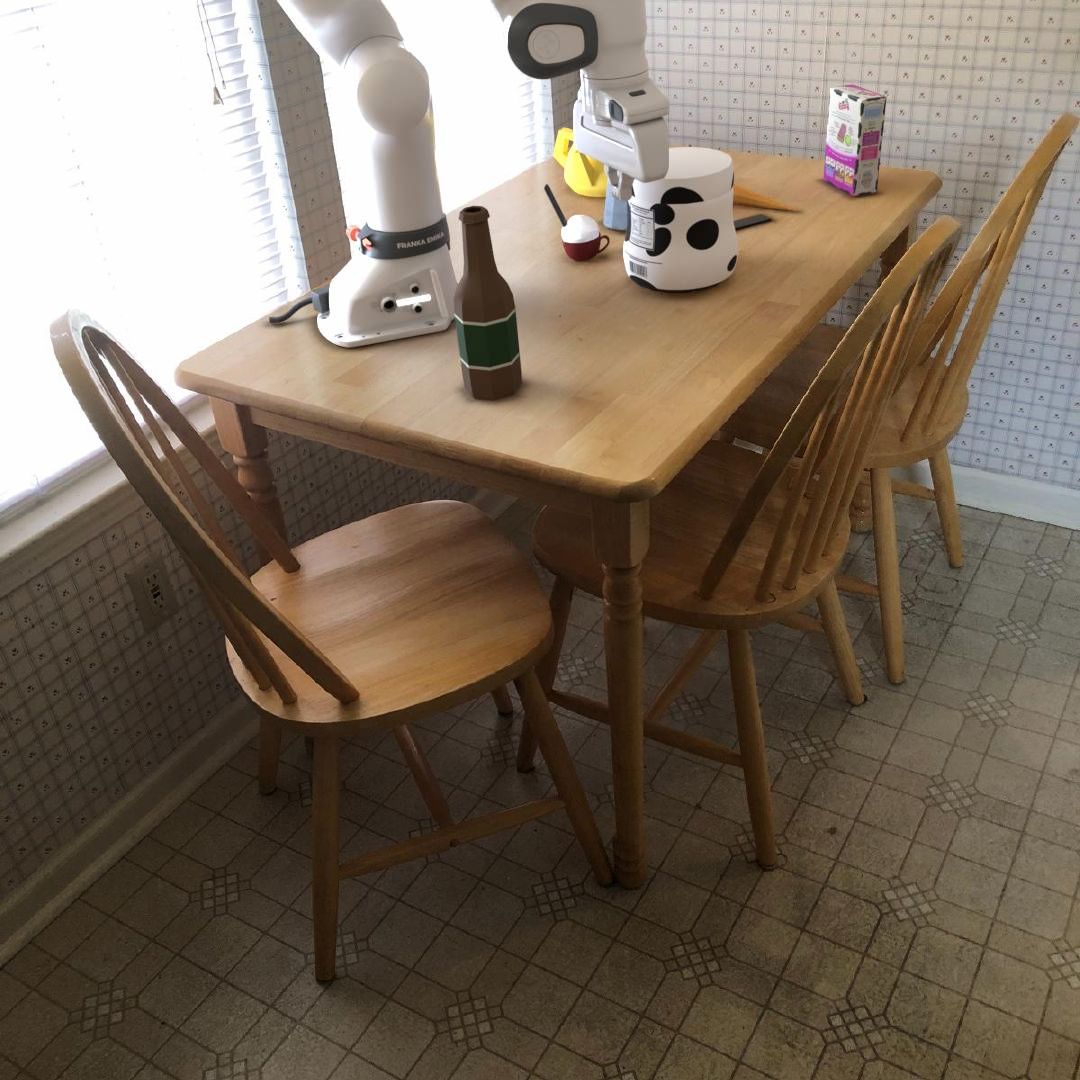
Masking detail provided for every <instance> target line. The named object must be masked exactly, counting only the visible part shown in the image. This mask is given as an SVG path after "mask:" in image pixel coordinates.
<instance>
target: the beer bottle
mask: <svg viewBox="0 0 1080 1080" xmlns="http://www.w3.org/2000/svg"><path fill="white" fill-rule="evenodd" d="M490 217H491V215H490V212H489V210H488V208H486V207H485V206H482V205H471V206H466V207H464V208H462V209H461V210H460V211H459V213H458V221H460V222H461V235H462V251H463V252H462V253H463V270H462V271H463V273H462V276H461V278H460V280H459V281H458V286H457V287H456V292H455V296H454V315H455V318H454V322H455V330H456V337H457V344H458V351H459V359H460V367H461V368H460V369H461V376H462V381H463V386H464V389H465V390H466V391H467V392H468V394H469V395H470V396H471V397H472V398H473V399H476V400H484V401H485V400H486V401H492V402H493V401H497V400H502V399H504V398H509V397H512V396H514V395H515V394H516V393H517V391H518V389H519V388H520V387H521V386H522V384H523V378H522V377H523V371H522V362H521V361H522V359H521V350H520V342H519V341H520V340H519V330H518V319H517V309H516V303H515V298H514V293H513V291H512V288H511V287H510V285H509V283H508V282H507V281H506V279H505V278H504V277H503V276H502V274H501V273H500V272H499V270H498V266H497V263H496V260H495V253H494V249H493V243H492V236H491V231H490V224H489V218H490Z"/></svg>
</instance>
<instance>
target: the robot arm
mask: <svg viewBox="0 0 1080 1080" xmlns="http://www.w3.org/2000/svg"><path fill="white" fill-rule="evenodd" d="M276 1H277V3H278V4H279V6H281V8H282V9H283V11H284V12H285V13H286V15H287V16H288V18H289V19H290V20H291V22H292V23H293V24H294V26H295V28H296V29H297V30H298V31H299V32H300V33H301V34H302V36H303V38H305V40H306V41H307V42H308V43H309V44H310V46H311V47H312V48H313V49H314V51H315V52H316V53H317V54H318V55H319V57H320V59H322V61H323V62H324V63H325V65H326V66H327V67H328V68H329V70H330V71H331V73H332V74H333V75H334V76H335V78H336V79H337V80H338V82H339V84H340V85H341V87H342V88H343V90H344V92H345V95H346V97H347V103H348V109H349V113H350V114H349V115H350V122H351V127H352V134H353V140H354V146H355V147H354V148H355V153H356V160H357V161H356V162H357V169H358V175H359V180H360V186H361V192H362V199H363V204H364V209H365V215H366V222H365V223H364V226H363V227H362V228H359V226H357V225H356V224H350V225H349V226H347V228H346V229H345V231H346V232H345V234H346V236H347V237H348V239H350V240H351V241H352V242H357V248H358V252H357V253H356V254H355V255H354V256H353V257H352V258H351V259H350V260H349V262H348V263H347V264H346V265H345V266H344V267H343V268H342V269H341V270H340V271H339V272H338V273H337V275H335V276H334V277H333V278H332V280H331V282H330V283H329V284H327V285H324V286H321V287H319V288H316V289H313V290H310V296H309V297H306V298H304V299H301V300H300V301H298V302H297V303H295V304H294V305H292V306H291V307H290V308H289V309H288V310H287V311H286V312H285V313H283V314H281V315H278V316H269V317H268V320H269V321H268V322H269V324H281V323H283V322H285V321H287V320H289V319H290V318H292V316H293V315H295V314H296V313H297V312H298V311H299V310H300V309H302V308H305V307H306V306H308V305H312V307H313V310H314V311H316V312H318V315H317V317H316V318H317V319H316V321H317V328H318V330H319V332H320V333H321V334H322V336H323V337H324V338H325V339H326V340H327V341H329V342H331V343H332V344H334V345H337V346H340V347H343V348H347V349H348V348H349V349H350V348H357V347H361V346H367V345H373V344H379V343H384V342H389V341H393V340H400V339H405V338H411V337H417V336H421V335H422V336H423V335H427V334H433V333H438V332H443V331H445V330H447V329H448V328H449V326H451V322H452V321H453V320H455V315H454V296H455V292H456V287H457V286H458V284H459V282H458V280H457V278H456V274H455V269H454V267H453V263H452V259H451V254H450V253H451V252H450V251H451V234H450V228H449V223H448V219H447V214H446V213H445V212H444V210H443V205H442V204H443V203H442V196H441V188H440V180H439V173H438V164H437V151H436V150H437V149H436V134H435V133H436V131H435V119H434V108H433V97H432V95H433V94H432V87H431V79H430V76H429V73H428V71H427V69H426V67H425V65H424V64H423V61H422V60H421V59H420V57H419V55H418V54H417V51H415V49H414V48H413V45H412V44H411V43H410V42H409V40H408V38H407V37H406V34H404V32H403V31H402V29H401V28H400V26H399V25H398V23H397V21H396V20H395V18H394V17H393V16H392V14H391V12H390V11H389V10H388V8H387V7H386V5H385V4H384V2H383V1H382V0H276ZM488 1H489V2H490V3H491V5H492V6H493V8H494V10H495V12H496V14H497V17H498V19H499V24H500V27H501V30H502V34H503V37H504V40H505V43H506V48H507V52H508V55H509V58H510V61H512V63H513V65H514V66H515V67H516V69H517V70H518V71H519V72H521V73H522V74H523V75H525V76H527V77H529V78H532V79H536V80H550V79H555V78H559V77H562V76H565V75H569V74H572V73H575V72H577V71H580V85H581V86H580V87H579V90H578V91H577V100H576V101H575V103H574V106H573V130H574V141H573V143H574V142H575V146H576V148H577V151H578V152H580V153H583V154H585V155H587V156H589V157H591V158H593V159H595V160H597V161H599V162H601V163H603V164H604V171H605V173H606V176H607V179H608V182H609V184H610V194H611V196H613V197H615V198H617V199H619V200H621V201H627V200H630V199H631V197H632V189H631V187H632V185H633V182H634V179H637V180H639V181H641V182H643V183H648V182H652V181H656V180H660V179H663V178H664V177H665V176H666V174H667V172H668V168H669V148H670V135H669V134H670V133H669V128H668V127H669V126H668V123H667V121H666V119H665V118H664V117H667V116H668V115H669V114H670V101H669V99H668V97H667V96H666V95H665V94H664V93H663V92H662V91H661V90H660V89H659V88H658V87H657V85H656V84H655V83H654V81H653V79H652V78H651V77H650V75H649V63H648V59H647V56H646V49H645V46H646V45H645V44H646V38H647V33H648V27H647V25H648V24H647V22H648V21H647V8H646V7H647V6H646V0H488Z"/></svg>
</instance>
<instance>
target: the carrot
mask: <svg viewBox="0 0 1080 1080" xmlns="http://www.w3.org/2000/svg"><path fill="white" fill-rule="evenodd" d="M733 189H734V195H733V205H738V206H739V205H740V206H746V207H754V208H761V209H762V208H763V209H771V210H772V209H773V210H784V211H796V208H793V207H791V206H789V205H786V204H785V203H782V202H780V201H777V200H776V199H773V198H771V197H769V196H767V195H764V194H761V193H759V192H756V191H753V190H752V189H749V188H746V187H743V186H741V185H738V184H736V183H734V184H733Z"/></svg>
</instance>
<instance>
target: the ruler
mask: <svg viewBox="0 0 1080 1080" xmlns="http://www.w3.org/2000/svg"><path fill="white" fill-rule="evenodd" d="M733 222H734V227H735V231H739V230H742V229H746V228H750V227H753V226H757V225H760V224H761V225H762V224H765V223H768V222H772V217H769V216H767V215H764V214H763V213H760V214H756V215H755V214H754V215H752V216H748V217H744V218H741V219H736V220H733Z"/></svg>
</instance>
